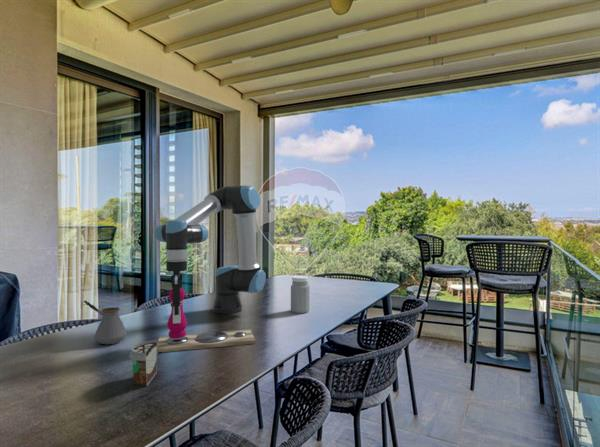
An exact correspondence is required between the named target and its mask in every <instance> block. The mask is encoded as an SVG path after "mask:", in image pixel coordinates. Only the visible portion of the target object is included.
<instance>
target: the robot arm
mask: <svg viewBox="0 0 600 447" xmlns="http://www.w3.org/2000/svg"><path fill="white" fill-rule="evenodd" d="M260 204H261V198H260V193H259V192H258V190H257V189H256V187H255V186H253V185H247V184H246V185H245V184H244V185H232V186H231V185H228V186H223V187H220V188H218V189H216V190H213V191H212V192H211V193H209V194H207V195H206V196H205V197H204V199H203V200H201V202H199V203H197V204H196V205H194V206H193V207H191V208H190V209H189V210H186V211H185V212H184V213H182V214H181V215H179V216H178V217H176V218H175V219H172V220H171V219H169V220H167V221H166V223H162V224H158V225H157V226H156V228H155V230H154V236H155V239H156V240H157V241H159V242H161V243H162V242H163V243H165V247H166V248H165V250H166V251H164V253H163V254H164V255H166V256H165V257H166V258H165V259H166V260H167V261H166V263H165V264H166V265H165V269H166V271H167V272H169V273H170V272H171V273H172V275H171V276H170V281H171V289H173V303H172V305H170V307H171V306H173V324H174V323H181V311H180V288H182V285H183V275H182V273H181V272H186V271H187V269H188V261H187V259H188V248H187V247H188V244H200V243H204V242H206V241H207V239H208V238H209V229H208V227H207V226H206V225H204V224H200V223H202V222H204V220H206V219H207V218H209V217H210V216H211V215H212V214H217V213H219V212H221V211H225V210H231V212H232V213H231V214H232V215H233V216H234V217H235V224H236V236H237V244H238V246H237V247H238V248H237V249H238V258H239V264H238V265H237V264H236V265H228V266H221V267H218V268H216V270H215V298H214V302H213V305H212V312H213V313H215V314H223V315H225V314H228V315H229V314H234V313H235V314H236V313H239V312H241V311H243V304H242V301H241V299H240V293H248V294H259V293H260V292H261V291H262V290H263V289H264V286H265V284H266V278H267V277H266V272H265V271H264V270H263V269H261V265H260V264H259V263H258V260H257V259H258V258H257V248H256V247H257V246H256V234H255V223H254V222H255V221H254V215H255V214H256V213H257V210H258V209H259V208H260Z"/></svg>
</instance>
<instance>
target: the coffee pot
mask: <svg viewBox="0 0 600 447" xmlns="http://www.w3.org/2000/svg"><path fill="white" fill-rule="evenodd" d="M83 303H85V304H83ZM81 304H83V306H85V305H86V306H89V308H90V309H92V310H94V311H95V312H97V313H98V314H100V315H101V316H102V318H101V320H100V323H99V325H98V326H97V329H96V332H95V333H94V335H93V338H94V340H95V341H96V342H97V343H99V344H100V343H101V344H112V345H116V344H115V343H117V344H118V342H119V343H121V342H122V341H123V340H124V339H125V338H126V336H127V334H128V332H127V330H126V327H125V325H124V323H123V322H122V320H121V318H120V315H119V310H121V309H120V307H118V306H117V307H115V306H114V307H106V308H103V309H101V310H100V309H98V308H97V307H96V306H95V305H94V304H92V303H90V301H87V300H84V301H82V302H81ZM121 340H122V341H121ZM120 341H121V342H120ZM101 344H100V345H101Z"/></svg>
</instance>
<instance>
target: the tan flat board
mask: <svg viewBox="0 0 600 447" xmlns="http://www.w3.org/2000/svg"><path fill="white" fill-rule="evenodd" d="M221 332H224V333H226V334H227V335H228V337H227V339H225V340H223V341H220V342H215V343H202V342H198V341H197V340H196V337H197V336H198V335H199V334H202V332H201V333H199V332H198V333H189V334H187V333H186V335H185V336H186V337H188V341H187V342H185V343H182V344H167V343H166V340H167V339H168V338H170V337H169V335H166V336H163V335H162V336H158V337H159V338H158V340H157V342H158V346H157V354H159V352H162V353H171V351H172V352H180V351H191V350H200V349H202V350H203V349H210V348H211V349H212V348H222V347H232V346H233V347H235V346H243V345H244V346H245V345H255V344H256V339H255V338H256V337H255V336H254V334H253V332H252V329H251V328H248V329H237V330H235V329H234V330H225V331H221ZM237 332H245V333H246V336H244V337H235V333H237Z"/></svg>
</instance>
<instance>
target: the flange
mask: <svg viewBox="0 0 600 447" xmlns="http://www.w3.org/2000/svg"><path fill="white" fill-rule="evenodd" d="M187 341H188V337H186V336H184V337H182V338H168V339H167V340H166V343H167V344H182V343H185V342H187Z"/></svg>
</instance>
